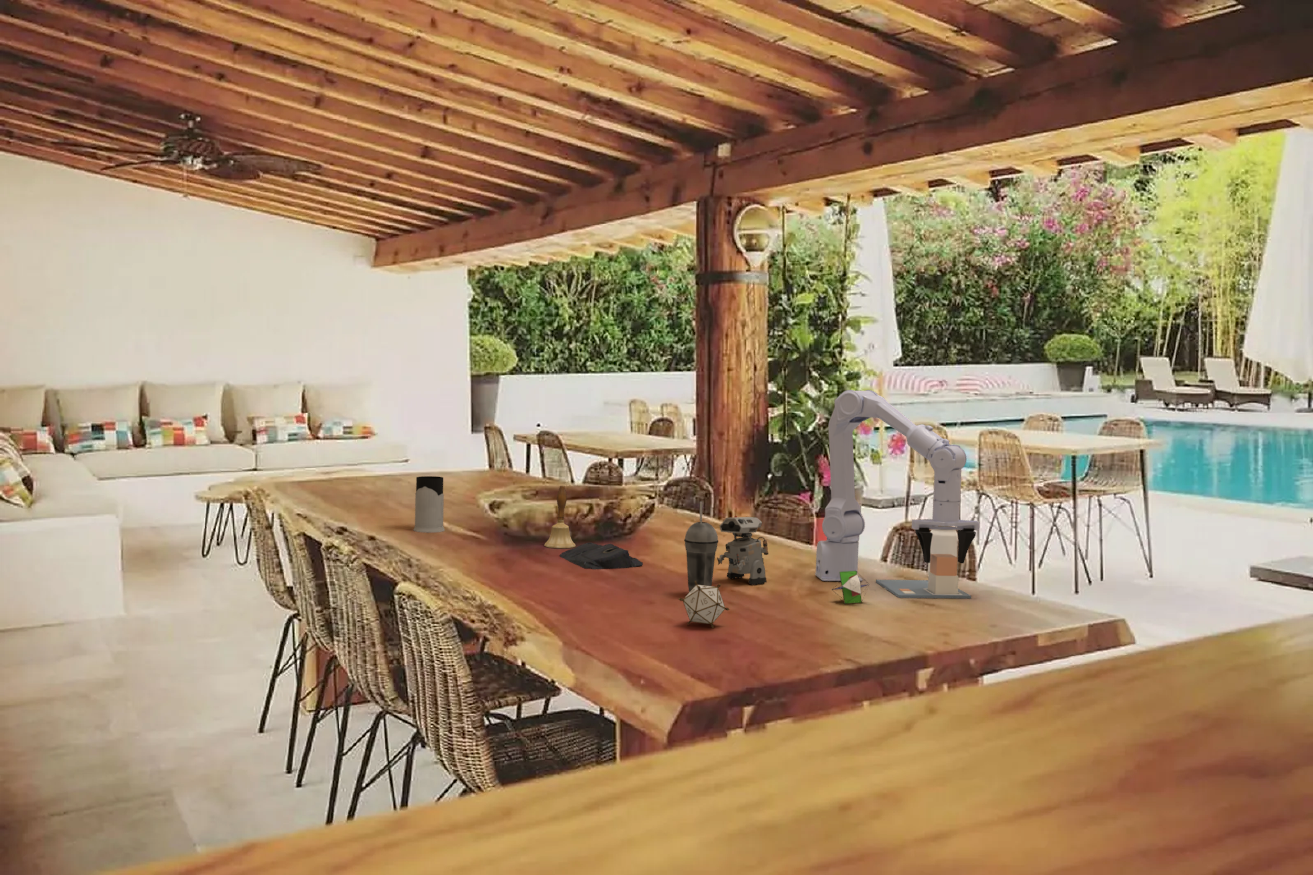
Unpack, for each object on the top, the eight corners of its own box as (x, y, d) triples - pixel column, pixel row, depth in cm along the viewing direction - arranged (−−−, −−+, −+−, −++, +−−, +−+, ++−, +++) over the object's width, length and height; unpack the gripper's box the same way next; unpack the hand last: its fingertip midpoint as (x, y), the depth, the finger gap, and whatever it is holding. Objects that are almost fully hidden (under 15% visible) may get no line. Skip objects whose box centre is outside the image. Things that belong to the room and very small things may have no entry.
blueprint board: (898, 597, 252) (899, 594, 252) (875, 582, 270) (875, 579, 270) (971, 598, 254) (971, 595, 254) (943, 582, 272) (943, 579, 271)
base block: (935, 594, 254) (936, 575, 254) (927, 589, 259) (928, 571, 259) (957, 594, 255) (958, 576, 255) (949, 589, 260) (950, 571, 260)
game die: (693, 643, 221) (675, 595, 226) (735, 627, 222) (717, 580, 226) (689, 629, 213) (671, 580, 218) (733, 613, 214) (714, 564, 218)
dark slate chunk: (611, 554, 301) (611, 536, 301) (646, 569, 282) (647, 549, 281) (555, 557, 295) (555, 538, 295) (587, 572, 275) (587, 552, 275)
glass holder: (408, 531, 328) (409, 478, 327) (426, 525, 342) (427, 473, 341) (438, 533, 327) (439, 479, 326) (455, 526, 341) (456, 475, 340)
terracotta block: (936, 575, 255) (937, 557, 254) (929, 571, 259) (930, 553, 259) (956, 575, 255) (957, 557, 255) (949, 572, 259) (950, 554, 259)
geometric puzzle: (823, 588, 249) (836, 562, 245) (850, 586, 252) (864, 560, 247) (836, 613, 244) (850, 587, 240) (864, 611, 247) (878, 586, 242)
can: (956, 580, 275) (958, 530, 274) (928, 579, 276) (930, 528, 275) (955, 576, 281) (957, 526, 280) (927, 574, 282) (929, 524, 282)
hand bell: (558, 542, 316) (559, 483, 315) (582, 546, 311) (583, 486, 310) (537, 546, 309) (539, 485, 308) (561, 549, 304) (563, 488, 303)
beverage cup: (720, 593, 251) (723, 500, 250) (711, 599, 245) (714, 504, 243) (688, 590, 254) (691, 498, 253) (678, 596, 247) (680, 501, 246)
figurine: (707, 581, 265) (709, 515, 264) (745, 577, 272) (747, 512, 271) (732, 588, 258) (735, 520, 257) (772, 583, 265) (774, 517, 264)
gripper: (919, 502, 251) (917, 565, 252) (985, 503, 253) (982, 566, 253) (909, 498, 258) (907, 559, 259) (973, 499, 260) (971, 560, 260)
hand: (943, 562), depth 257 cm, fingers open, 7 cm apart
